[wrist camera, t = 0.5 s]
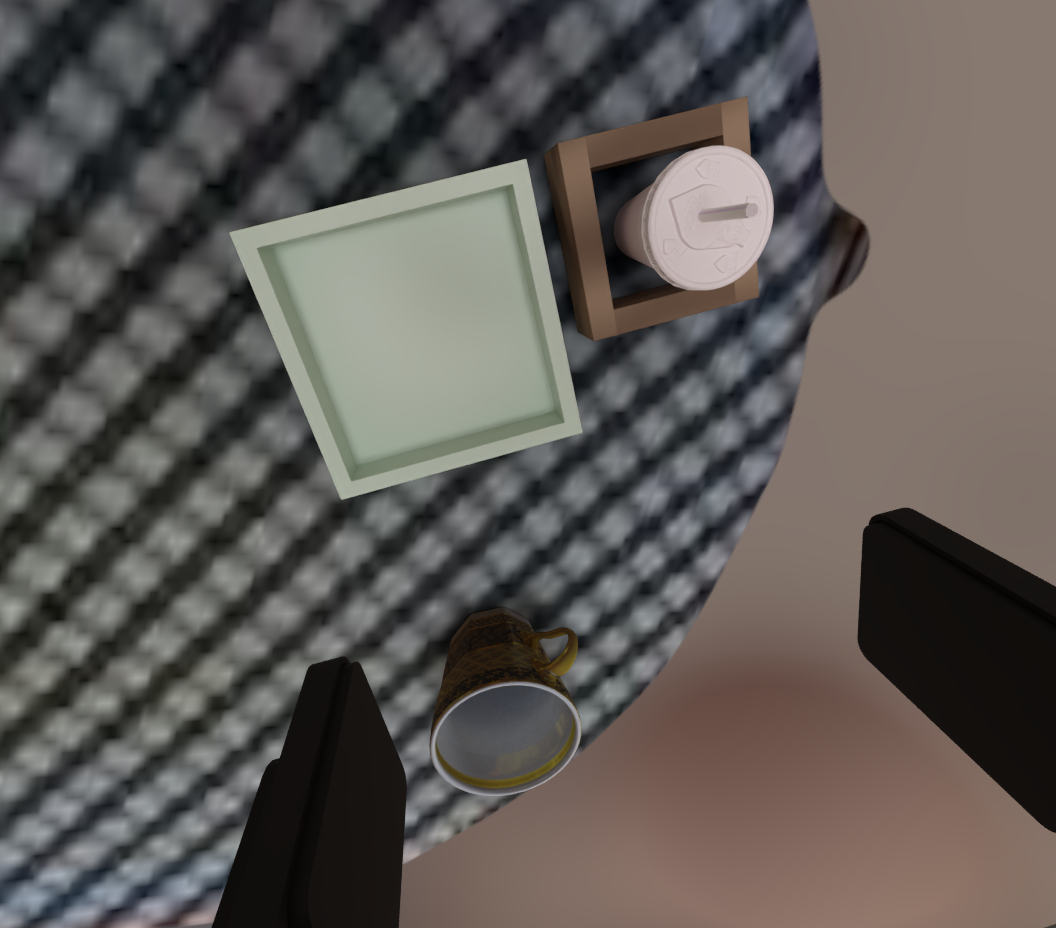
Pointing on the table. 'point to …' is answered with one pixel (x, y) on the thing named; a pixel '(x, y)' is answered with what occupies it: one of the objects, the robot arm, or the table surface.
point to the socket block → (582, 229)
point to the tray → (417, 326)
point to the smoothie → (699, 219)
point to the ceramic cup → (503, 707)
